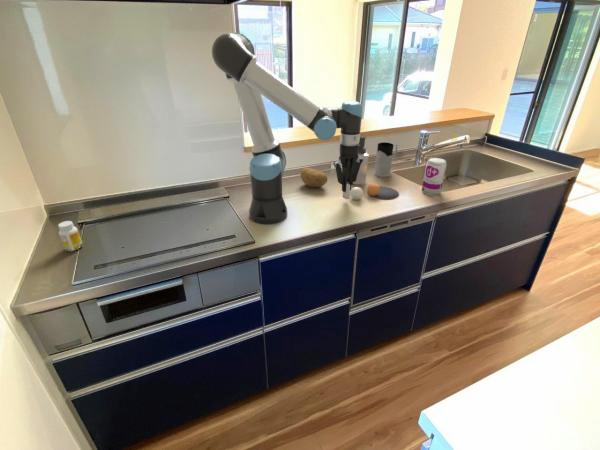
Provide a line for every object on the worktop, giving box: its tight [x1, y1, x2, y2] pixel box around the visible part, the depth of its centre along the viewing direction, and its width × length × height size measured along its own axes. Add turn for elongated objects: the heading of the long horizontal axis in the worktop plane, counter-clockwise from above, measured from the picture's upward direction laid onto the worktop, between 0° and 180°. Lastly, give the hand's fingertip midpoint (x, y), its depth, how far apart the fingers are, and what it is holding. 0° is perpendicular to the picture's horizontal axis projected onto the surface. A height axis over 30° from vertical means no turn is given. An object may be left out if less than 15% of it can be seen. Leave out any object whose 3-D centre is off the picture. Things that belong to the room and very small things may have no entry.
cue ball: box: [349, 186, 364, 201], centre depth 148 cm, size 6×6×6 cm
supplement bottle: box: [57, 220, 83, 251], centre depth 115 cm, size 5×5×10 cm
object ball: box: [366, 183, 380, 197], centre depth 152 cm, size 6×6×6 cm
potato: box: [300, 167, 328, 188], centre depth 160 cm, size 10×14×8 cm
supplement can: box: [421, 157, 447, 196], centre depth 152 cm, size 8×8×15 cm
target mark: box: [366, 185, 400, 201], centre depth 155 cm, size 14×14×1 cm
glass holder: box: [373, 142, 398, 178], centre depth 174 cm, size 9×14×15 cm, turn 130°
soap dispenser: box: [353, 135, 369, 186], centre depth 162 cm, size 6×9×22 cm
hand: (345, 197), depth 147 cm, fingers closed
